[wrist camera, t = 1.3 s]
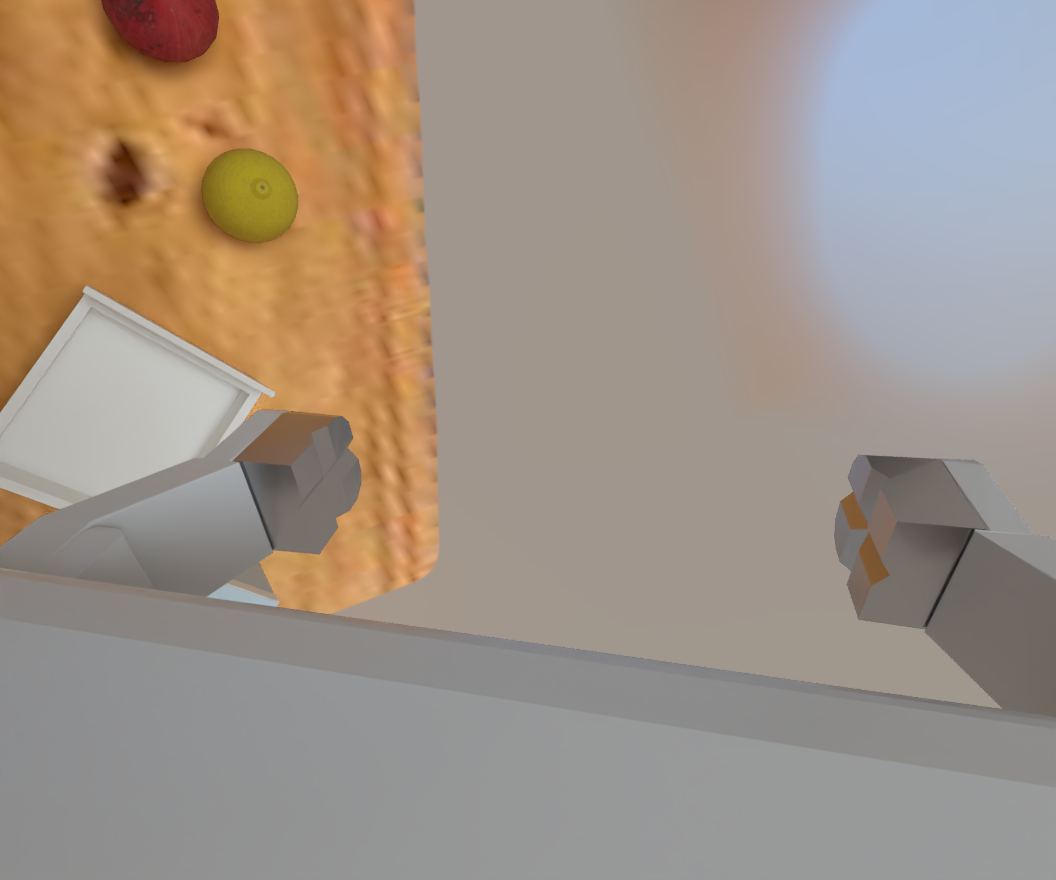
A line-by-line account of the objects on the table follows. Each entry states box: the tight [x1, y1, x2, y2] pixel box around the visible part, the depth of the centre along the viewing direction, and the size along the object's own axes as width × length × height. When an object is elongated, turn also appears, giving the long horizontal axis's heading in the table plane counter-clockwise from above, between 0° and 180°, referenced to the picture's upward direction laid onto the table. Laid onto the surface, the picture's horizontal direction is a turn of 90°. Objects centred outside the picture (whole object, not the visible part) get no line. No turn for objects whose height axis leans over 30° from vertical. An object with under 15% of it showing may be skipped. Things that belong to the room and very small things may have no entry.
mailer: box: [0, 286, 276, 509], centre depth 37 cm, size 11×13×7 cm
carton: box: [207, 562, 279, 607], centre depth 41 cm, size 5×5×10 cm
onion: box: [101, 0, 219, 62], centre depth 34 cm, size 6×6×8 cm
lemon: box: [202, 149, 298, 243], centre depth 38 cm, size 6×6×8 cm
